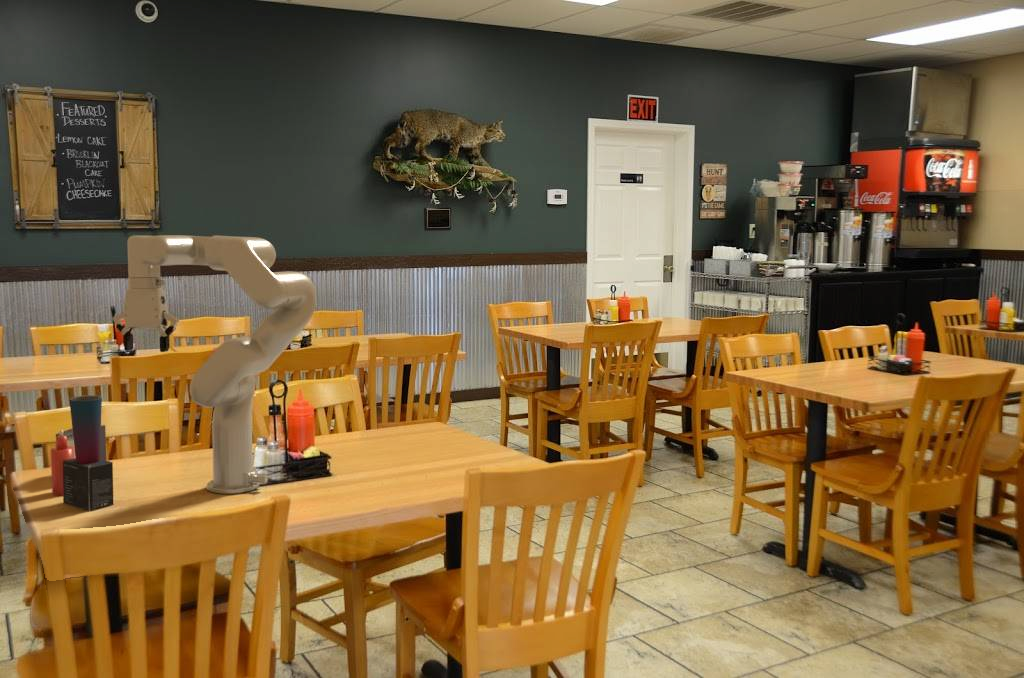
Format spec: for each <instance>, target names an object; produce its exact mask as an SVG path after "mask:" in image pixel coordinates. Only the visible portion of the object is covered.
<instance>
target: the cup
mask: <svg viewBox="0 0 1024 678" xmlns="http://www.w3.org/2000/svg"><path fill="white" fill-rule="evenodd" d="M68 399H69V409H70V416H71V417H70V419H71V429H72V428H73V437H74V447H75V456H76V462H77V463H79V464H90V463H95V462H98V461H100V439H101V426H102V407H103V405H102V404H103V403H102V401H103V400H102V399H103V397H102V396H101V395H93V394H90V395H89V394H88V395H77V396H73V397H69V398H68Z"/></svg>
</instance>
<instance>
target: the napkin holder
mask: <svg viewBox="0 0 1024 678" xmlns="http://www.w3.org/2000/svg"><path fill="white" fill-rule="evenodd" d="M106 433H107V432H106V425H105V424H101V439H100V459H102V460H106V461H108V460H107V436H106ZM57 436H60V432H58V433H55V438H56V437H57ZM63 436H67V446H71V447H73V448H74V458H76V456H75V447H74V437H73V428H72V427H71V428H69V429H67V430H63Z"/></svg>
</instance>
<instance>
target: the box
mask: <svg viewBox="0 0 1024 678" xmlns="http://www.w3.org/2000/svg"><path fill="white" fill-rule="evenodd" d="M106 460H107V459H106ZM106 460H102V459H100V461H98V462H95V463H90V464H79V463H77V462H76V458H74V459H68V460H64V461H63V496H62V497H63V499H62V501H63V504H65V505H68V506H71V507H74V508H77V509H81V510H85V511H89V512H91V511H95V510H98V509H102V508H106V507H109V506H113V505H114V470H113V469H114V468H113V465H114V463H113V462H112V461H109V460H107V461H106Z"/></svg>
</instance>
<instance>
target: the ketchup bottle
mask: <svg viewBox="0 0 1024 678" xmlns="http://www.w3.org/2000/svg"><path fill="white" fill-rule="evenodd" d="M63 431H64V430H63V429H59V431H58V433H60V436H57V437H56V436H55V445H56V446H55V447H52V448H50V467H51V468H50V472H51V491H52V492H51V493H52V494H51V495H52V496H53V495H54V496H58V497H59V496H62V497H63V461H64V460H68V459H74V448H73V447H71V446H67V436H63Z"/></svg>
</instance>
